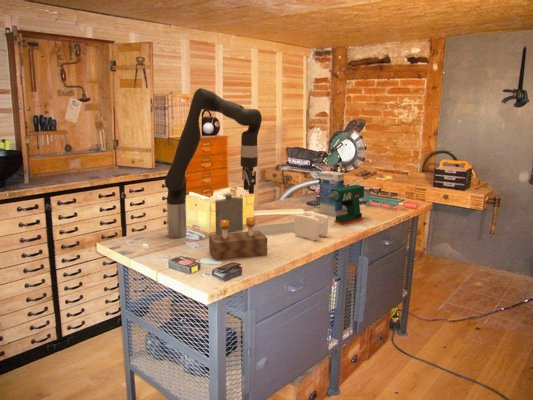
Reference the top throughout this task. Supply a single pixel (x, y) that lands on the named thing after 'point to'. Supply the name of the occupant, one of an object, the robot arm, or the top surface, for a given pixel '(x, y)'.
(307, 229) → the beige rounded block
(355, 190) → the power tool
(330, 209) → the string lights box
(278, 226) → the corner bead
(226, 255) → the block
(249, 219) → the far plunger
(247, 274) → the top surface
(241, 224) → the hip flask
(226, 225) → the near plunger
